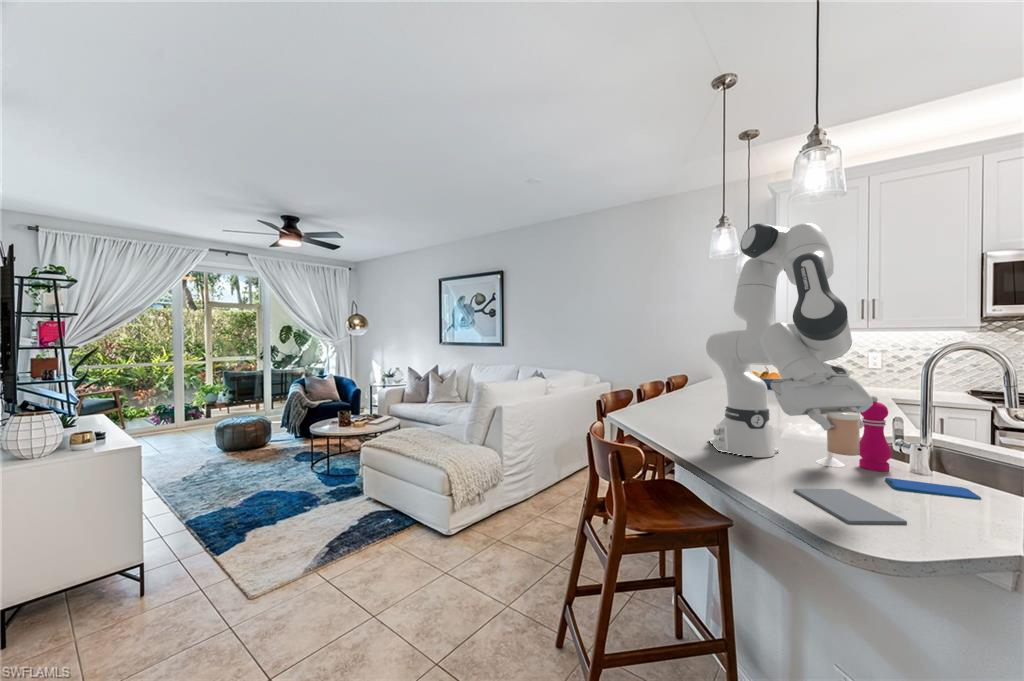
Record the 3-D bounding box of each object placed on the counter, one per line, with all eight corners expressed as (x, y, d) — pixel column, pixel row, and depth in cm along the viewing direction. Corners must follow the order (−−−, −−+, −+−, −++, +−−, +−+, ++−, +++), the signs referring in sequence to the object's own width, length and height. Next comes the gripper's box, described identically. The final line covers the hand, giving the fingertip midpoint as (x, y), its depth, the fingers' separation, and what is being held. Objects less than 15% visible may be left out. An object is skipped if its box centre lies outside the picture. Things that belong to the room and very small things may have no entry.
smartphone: (983, 498, 91) (894, 486, 98) (983, 503, 91) (894, 490, 98) (966, 487, 97) (883, 477, 104) (965, 491, 97) (883, 480, 104)
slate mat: (793, 491, 98) (793, 488, 98) (841, 491, 97) (841, 488, 97) (848, 523, 81) (848, 520, 81) (906, 524, 80) (906, 521, 80)
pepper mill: (877, 464, 117) (877, 394, 117) (899, 472, 110) (898, 398, 109) (850, 463, 117) (849, 394, 117) (870, 471, 110) (869, 398, 110)
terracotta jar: (821, 448, 92) (820, 410, 92) (846, 448, 91) (846, 410, 91) (839, 455, 86) (838, 415, 86) (866, 455, 86) (866, 415, 86)
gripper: (773, 371, 94) (809, 422, 85) (853, 368, 97) (897, 417, 87) (760, 388, 99) (793, 438, 89) (836, 385, 101) (876, 433, 92)
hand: (845, 428), depth 88 cm, fingers closed on terracotta jar, 5 cm apart
